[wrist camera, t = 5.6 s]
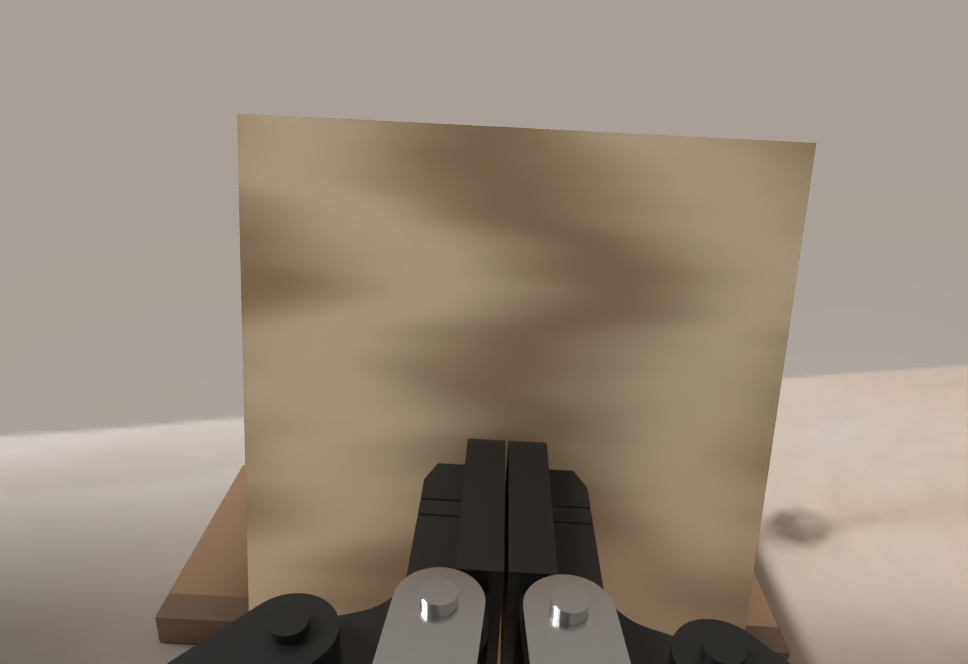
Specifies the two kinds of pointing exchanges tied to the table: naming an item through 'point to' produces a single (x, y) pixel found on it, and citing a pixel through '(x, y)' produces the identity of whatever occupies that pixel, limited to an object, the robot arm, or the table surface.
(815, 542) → the table surface
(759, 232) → the oak plank
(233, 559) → the floor panel
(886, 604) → the table surface
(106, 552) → the table surface
